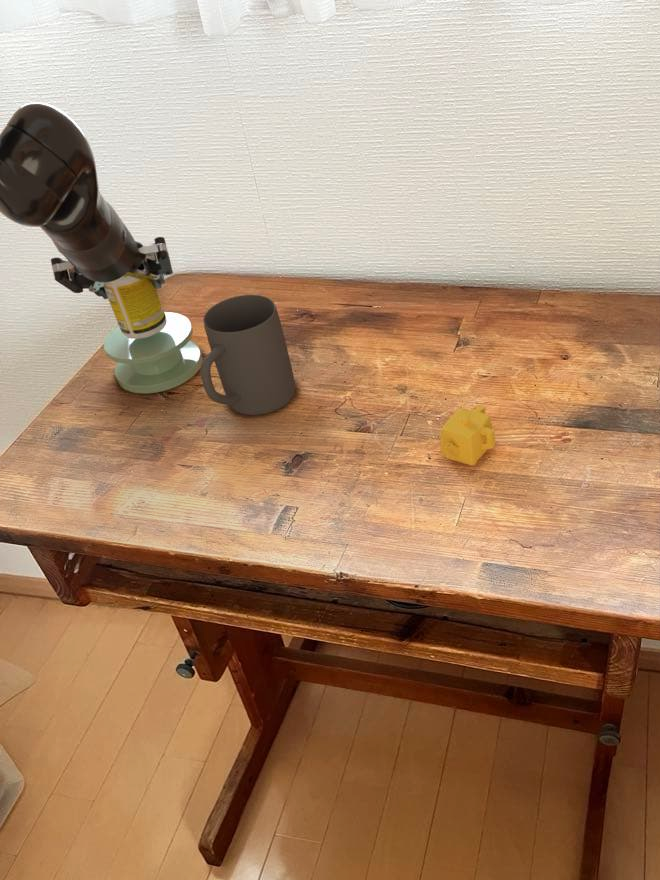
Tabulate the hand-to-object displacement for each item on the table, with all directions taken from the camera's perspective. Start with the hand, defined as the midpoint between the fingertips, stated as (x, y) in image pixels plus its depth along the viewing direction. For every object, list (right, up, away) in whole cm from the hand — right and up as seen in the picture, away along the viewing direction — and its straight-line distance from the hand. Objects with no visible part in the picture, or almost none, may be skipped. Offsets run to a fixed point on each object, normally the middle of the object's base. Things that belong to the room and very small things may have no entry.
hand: (131, 286), depth 109 cm
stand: (+2, -9, +7) cm, 12 cm away
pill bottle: (+1, -5, +3) cm, 6 cm away
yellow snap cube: (+44, -24, -14) cm, 52 cm away
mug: (+16, -16, -2) cm, 23 cm away
